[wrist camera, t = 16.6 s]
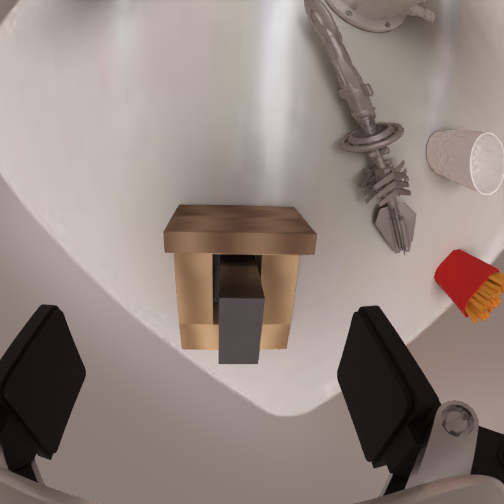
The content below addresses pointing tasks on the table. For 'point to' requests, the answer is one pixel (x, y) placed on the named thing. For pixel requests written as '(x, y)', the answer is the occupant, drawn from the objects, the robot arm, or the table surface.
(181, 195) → the table surface
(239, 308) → the brushed grey post
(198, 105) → the table surface
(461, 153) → the white cup
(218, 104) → the table surface
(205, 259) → the wooden frame stool
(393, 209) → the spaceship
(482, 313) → the french fries
